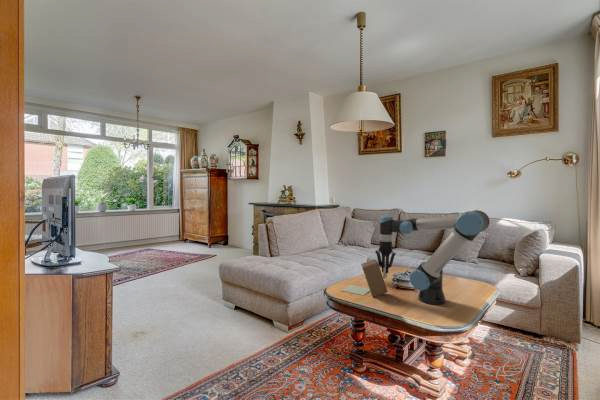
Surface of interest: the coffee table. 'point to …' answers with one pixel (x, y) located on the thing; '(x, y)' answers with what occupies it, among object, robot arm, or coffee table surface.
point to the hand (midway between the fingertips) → (385, 277)
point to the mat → (356, 290)
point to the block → (374, 278)
